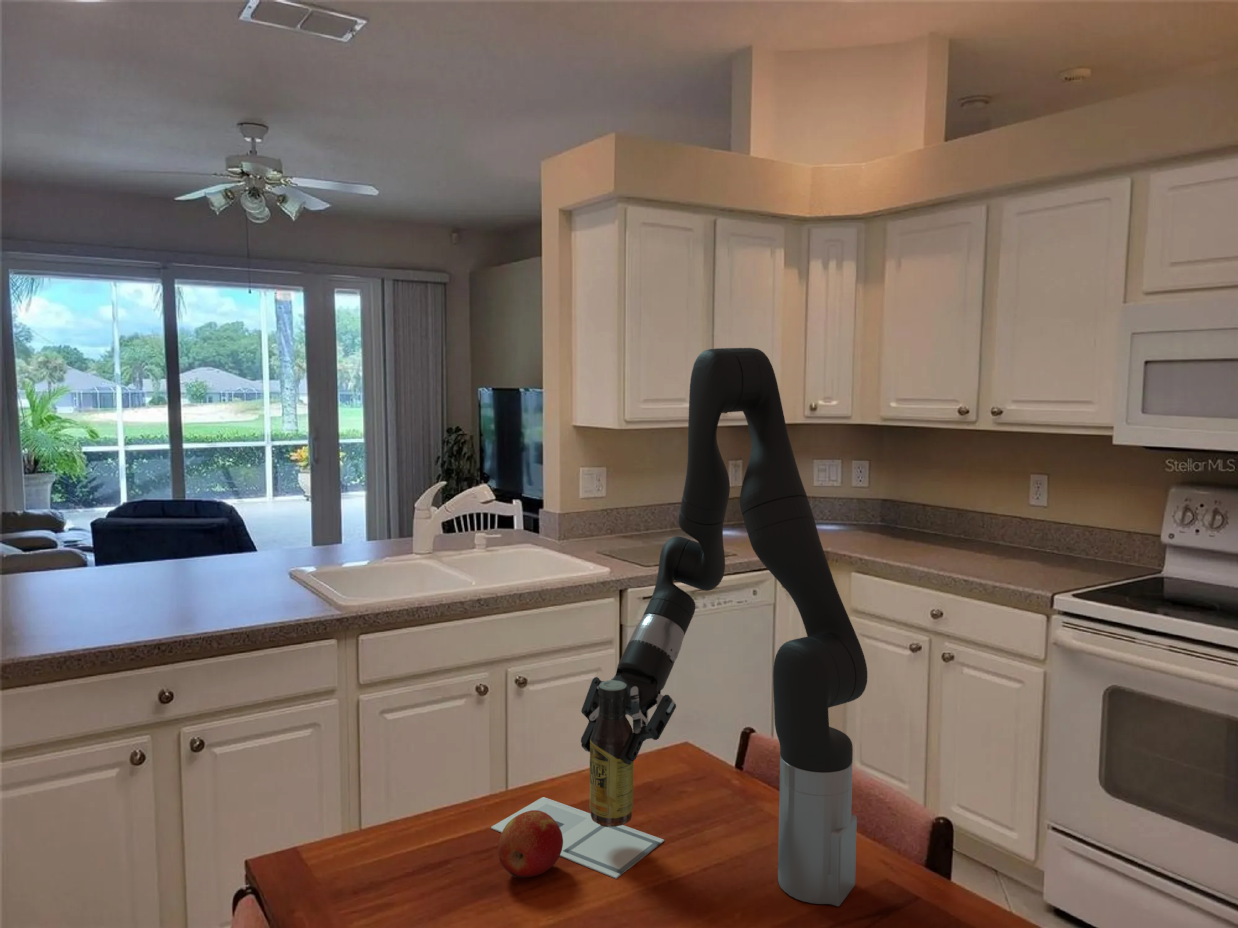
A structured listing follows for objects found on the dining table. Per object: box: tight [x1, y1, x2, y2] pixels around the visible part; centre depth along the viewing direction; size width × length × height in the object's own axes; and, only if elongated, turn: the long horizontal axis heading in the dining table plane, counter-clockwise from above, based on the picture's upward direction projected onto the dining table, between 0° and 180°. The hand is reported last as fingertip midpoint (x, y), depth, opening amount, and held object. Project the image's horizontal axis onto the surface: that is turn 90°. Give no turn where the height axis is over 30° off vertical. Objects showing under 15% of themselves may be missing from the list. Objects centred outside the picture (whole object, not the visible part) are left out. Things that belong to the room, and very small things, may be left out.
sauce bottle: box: [589, 679, 635, 827], centre depth 119 cm, size 7×6×20 cm
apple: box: [497, 810, 563, 879], centre depth 113 cm, size 8×8×8 cm
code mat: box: [490, 796, 665, 880], centre depth 124 cm, size 23×12×1 cm, turn 55°
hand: (605, 754), depth 118 cm, fingers closed on sauce bottle, 6 cm apart
